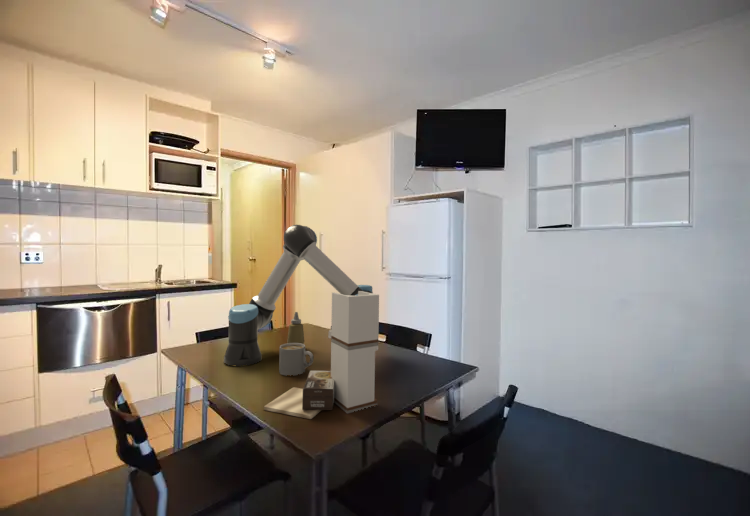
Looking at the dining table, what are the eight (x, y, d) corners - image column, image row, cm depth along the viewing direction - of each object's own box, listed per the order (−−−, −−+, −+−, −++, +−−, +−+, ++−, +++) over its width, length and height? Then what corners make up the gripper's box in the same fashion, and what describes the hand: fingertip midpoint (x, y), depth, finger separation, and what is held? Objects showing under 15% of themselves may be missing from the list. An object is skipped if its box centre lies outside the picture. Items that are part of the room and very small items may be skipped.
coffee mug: (273, 373, 136) (274, 347, 135) (288, 365, 145) (288, 341, 145) (304, 378, 131) (304, 351, 131) (317, 370, 140) (317, 345, 140)
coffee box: (309, 388, 119) (301, 410, 102) (310, 369, 119) (301, 388, 102) (336, 389, 119) (332, 410, 103) (337, 370, 119) (333, 389, 103)
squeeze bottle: (284, 351, 166) (284, 313, 165) (291, 346, 174) (291, 310, 173) (300, 352, 164) (301, 314, 164) (306, 347, 172) (307, 311, 172)
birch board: (263, 409, 105) (263, 406, 105) (293, 390, 120) (293, 387, 120) (311, 419, 100) (311, 415, 100) (335, 397, 115) (335, 394, 115)
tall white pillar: (377, 406, 109) (379, 294, 109) (347, 414, 104) (348, 296, 103) (358, 393, 119) (360, 290, 118) (330, 400, 113) (331, 292, 112)
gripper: (368, 333, 149) (346, 347, 127) (340, 330, 153) (314, 342, 131) (369, 316, 149) (346, 326, 127) (341, 312, 153) (314, 322, 131)
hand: (330, 334), depth 129 cm, fingers closed
